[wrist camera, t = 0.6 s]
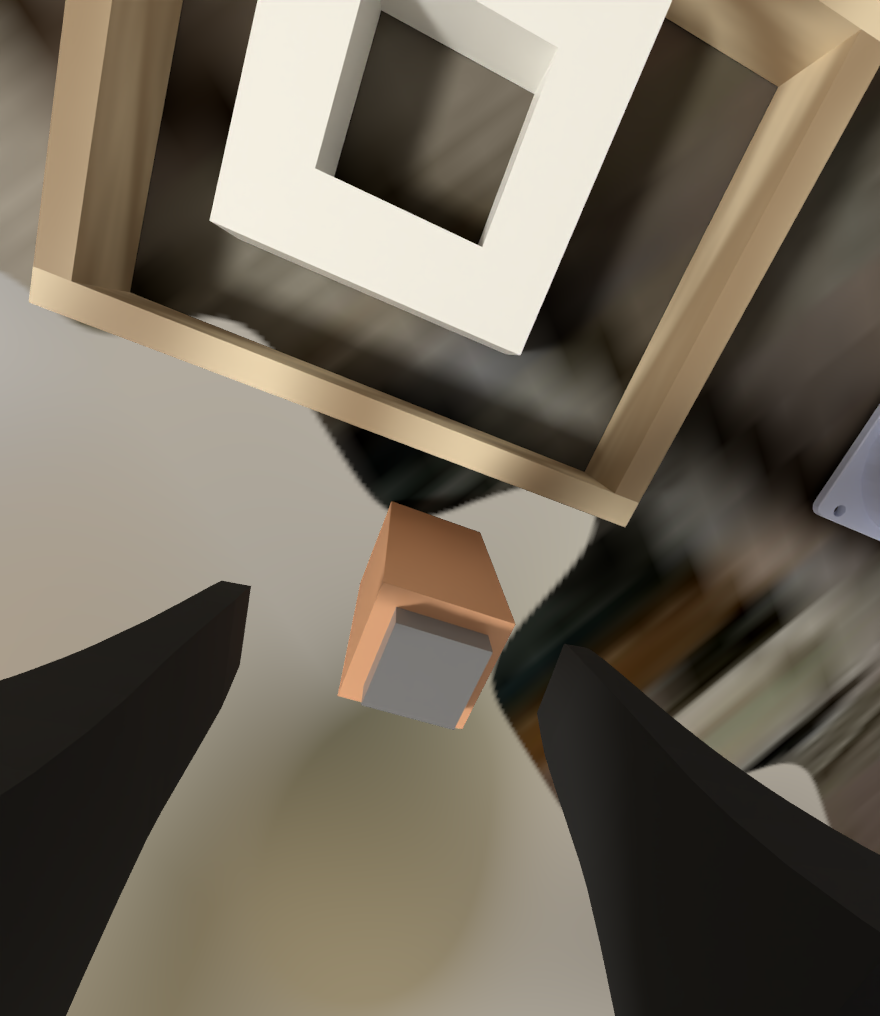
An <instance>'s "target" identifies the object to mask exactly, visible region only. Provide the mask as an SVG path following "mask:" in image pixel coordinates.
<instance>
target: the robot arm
mask: <svg viewBox="0 0 880 1016" xmlns="http://www.w3.org/2000/svg"><path fill="white" fill-rule="evenodd" d="M837 506H838V508H837V510H836V511H835V512H834V510H835V508H836V507H837ZM813 511H814V513H815V514H817V515H819V516H821V517H824V518H826V519H828V520H831V521H833V522H836V523H838V524H840V525H843V526H845V527H848V528H850V529H852V530H855V531H857V532H859V533H862V534H864V535H867V536H869V537H871V538H874V539H876V540H879V541H880V404H879V405H878V407H877V408H876V410H875V411H874V413H873V414H872V416H871V417H870V419H869V420H868V422H867V423H866V425H865V426H864V428H863V429H862V431H861V432H860V434H859V435H858V437H857V438H856V440H855V441H854V443H853V444H852V446H851V447H850V449H849V450H848V452H847V453H846V455H845V456H844V458H843V459H842V461H841V462H840V464H839V465H838V467H837V468H836V470H835V471H834V473H833V474H832V476H831V477H830V479H829V480H828V482H827V483H826V485H825V486H824V488H823V489H822V491H821V492H820V494H819V495H818V497H817V498H816V500H815V501H814V504H813ZM250 589H251V586H247V585H242V584H236V583H231V582H226V581H220V582H218V583H216V584H214V585H212V586H210V587H208V588H207V589H205V590H203V591H201V592H199V593H198V594H196V595H194V596H192V597H190V598H188V599H186V600H185V601H183V602H181V603H179V604H177V605H175V606H173V607H171V608H170V609H168V610H166V611H164V612H162V613H160V614H158V615H156V616H154V617H152V618H150V619H148V620H146V621H144V622H142V623H140V624H138V625H136V626H134V627H132V628H130V629H127V630H125V631H123V632H121V633H119V634H117V635H115V636H112V637H110V638H108V639H106V640H104V641H102V642H100V643H98V644H95V645H93V646H91V647H88V648H86V649H84V650H81V651H79V652H76V653H74V654H71V655H69V656H67V657H64V658H62V659H59V660H56V661H54V662H51V663H48V664H46V665H43V666H40V667H38V668H35V669H33V670H30V671H27V672H24V673H21V674H18V675H16V676H13V677H10V678H7V679H3V680H1V681H0V1016H66V1014H67V1012H68V1010H69V1007H70V1005H71V1003H72V1001H73V998H74V996H75V994H76V992H77V989H78V987H79V985H80V982H81V980H82V978H83V976H84V973H85V971H86V969H87V967H88V964H89V962H90V960H91V958H92V956H93V954H94V952H95V949H96V947H97V945H98V943H99V941H100V938H101V936H102V934H103V932H104V930H105V927H106V925H107V923H108V921H109V919H110V916H111V914H112V912H113V910H114V908H115V905H116V903H117V901H118V899H119V897H120V895H121V892H122V890H123V888H124V886H125V884H126V882H127V880H128V878H129V875H130V873H131V871H132V869H133V867H134V865H135V863H136V861H137V858H138V856H139V854H140V852H141V850H142V848H143V846H144V844H145V841H146V839H147V837H148V836H149V834H150V832H151V830H152V828H153V826H154V824H155V823H156V821H157V819H158V817H159V815H160V813H161V811H162V810H163V808H164V806H165V804H166V803H167V801H168V799H169V798H170V796H171V794H172V792H173V791H174V789H175V787H176V786H177V784H178V782H179V780H180V779H181V777H182V775H183V774H184V772H185V770H186V768H187V767H188V765H189V763H190V761H191V760H192V758H193V756H194V755H195V753H196V751H197V749H198V748H199V746H200V744H201V742H202V741H203V739H204V737H205V735H206V734H207V732H208V730H209V728H210V727H211V725H212V723H213V721H214V720H215V718H216V716H217V714H218V713H219V711H220V709H221V707H222V705H223V703H224V700H225V698H226V696H227V694H228V691H229V689H230V687H231V684H232V682H233V680H234V677H235V675H236V673H237V670H238V668H239V665H240V659H241V652H242V644H243V638H244V631H245V624H246V617H247V610H248V603H249V595H250ZM537 714H538V720H539V726H540V732H541V738H542V743H543V748H544V753H545V757H546V760H547V763H548V767H549V770H550V773H551V776H552V779H553V782H554V786H555V789H556V792H557V795H558V798H559V801H560V804H561V807H562V810H563V813H564V816H565V819H566V822H567V825H568V828H569V831H570V834H571V837H572V840H573V843H574V846H575V849H576V852H577V855H578V858H579V861H580V865H581V868H582V871H583V875H584V879H585V882H586V886H587V889H588V893H589V898H590V902H591V907H592V911H593V915H594V920H595V924H596V928H597V932H598V936H599V941H600V945H601V950H602V955H603V960H604V965H605V969H606V974H607V979H608V984H609V989H610V993H611V998H612V1002H613V1008H614V1013H615V1016H880V855H879V854H877V853H875V852H873V851H871V850H869V849H868V848H866V847H864V846H862V845H860V844H859V843H857V842H855V841H853V840H852V839H850V838H848V837H846V836H845V835H843V834H841V833H839V832H838V831H836V830H834V829H833V828H831V827H829V826H828V825H826V824H824V823H823V822H821V821H819V820H818V819H816V818H814V817H813V816H811V815H809V814H808V813H806V812H805V811H803V810H801V809H800V808H798V807H797V806H795V805H793V804H791V803H790V802H788V801H787V800H785V799H784V798H782V797H781V796H779V795H778V794H776V793H775V792H773V791H771V790H770V789H768V788H767V787H765V786H764V785H762V784H761V783H760V782H758V781H757V780H755V779H754V778H752V777H751V776H749V775H748V774H747V773H745V772H744V771H742V770H741V769H739V768H738V767H737V766H735V765H734V764H732V763H731V762H729V761H728V760H727V759H725V758H724V757H723V756H721V755H720V754H718V753H717V752H716V751H714V750H713V749H712V748H710V747H709V746H708V745H707V744H705V743H704V742H703V741H701V740H700V739H699V738H698V737H696V736H695V735H694V734H693V733H691V732H690V731H689V730H687V729H686V728H685V727H684V726H682V725H681V724H680V723H679V722H677V721H676V720H675V719H674V718H673V717H671V716H670V715H669V714H668V713H666V712H665V711H664V710H663V709H662V708H660V707H659V706H658V705H657V704H656V703H654V702H653V701H652V700H651V699H650V698H649V697H647V696H646V695H645V694H644V693H643V692H642V691H640V690H639V689H638V688H637V687H636V686H635V685H633V684H632V683H631V682H630V681H629V680H627V679H626V678H625V677H624V676H623V675H622V674H620V673H619V672H618V671H617V670H616V669H614V668H613V667H612V666H611V665H610V664H608V663H607V662H606V661H605V660H603V659H602V658H601V657H600V656H598V655H597V654H596V653H594V652H593V651H591V650H590V649H588V648H583V647H577V646H572V645H566V644H564V646H563V649H562V651H561V654H560V656H559V659H558V661H557V664H556V666H555V669H554V672H553V674H552V677H551V679H550V682H549V684H548V687H547V690H546V692H545V695H544V697H543V700H542V702H541V705H540V707H539V710H538V713H537Z"/></svg>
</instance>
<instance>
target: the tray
mask: <svg viewBox="0 0 880 1016" xmlns="http://www.w3.org/2000/svg"><path fill="white" fill-rule="evenodd" d="M182 3H183V0H66V2H65V10H64V19H63V27H62V35H61V43H60V51H59V59H58V68H57V76H56V84H55V92H54V100H53V109H52V117H51V125H50V133H49V141H48V149H47V158H46V166H45V174H44V182H43V190H42V198H41V207H40V215H39V223H38V231H37V239H36V247H35V256H34V264H33V272H32V280H31V288H30V297H29V302H30V303H32V304H35V305H37V306H40V307H43V308H45V309H48V310H51V311H53V312H56V313H59V314H61V315H64V316H66V317H69V318H72V319H74V320H77V321H80V322H82V323H85V324H88V325H90V326H93V327H96V328H98V329H101V330H104V331H106V332H109V333H111V334H114V335H117V336H119V337H122V338H125V339H127V340H130V341H133V342H135V343H138V344H141V345H143V346H146V347H149V348H152V349H154V350H157V351H159V352H162V353H164V354H167V355H170V356H172V357H175V358H178V359H181V360H183V361H186V362H189V363H191V364H194V365H196V366H199V367H202V368H204V369H207V370H210V371H212V372H215V373H217V374H220V375H223V376H225V377H228V378H231V379H234V380H236V381H239V382H241V383H244V384H247V385H249V386H252V387H255V388H257V389H260V390H263V391H265V392H268V393H271V394H273V395H276V396H278V397H281V398H284V399H286V400H289V401H292V402H294V403H297V404H300V405H302V406H305V407H308V408H310V409H313V410H315V411H318V412H321V413H323V414H326V415H329V416H331V417H334V418H337V419H339V420H342V421H345V422H347V423H350V424H353V425H355V426H358V427H360V428H363V429H366V430H368V431H371V432H374V433H376V434H379V435H382V436H384V437H387V438H390V439H392V440H395V441H398V442H400V443H403V444H406V445H408V446H411V447H413V448H416V449H419V450H421V451H424V452H427V453H429V454H432V455H435V456H437V457H440V458H443V459H445V460H448V461H451V462H453V463H456V464H459V465H461V466H464V467H466V468H469V469H472V470H474V471H477V472H480V473H482V474H485V475H488V476H490V477H493V478H496V479H498V480H501V481H504V482H506V483H509V484H511V485H514V486H517V487H519V488H522V489H525V490H527V491H531V492H533V493H536V494H538V495H541V496H543V497H546V498H549V499H551V500H554V501H557V502H559V503H562V504H564V505H567V506H570V507H573V508H575V509H578V510H580V511H583V512H586V513H588V514H591V515H594V516H596V517H599V518H602V519H604V520H607V521H610V522H612V523H615V524H617V525H620V526H623V527H626V525H627V523H628V522H629V520H630V518H631V516H632V514H633V513H634V511H635V509H636V507H637V505H638V504H639V502H640V500H641V498H642V496H643V494H644V493H645V491H646V489H647V487H648V485H649V484H650V482H651V480H652V478H653V476H654V474H655V473H656V471H657V469H658V467H659V465H660V464H661V462H662V460H663V458H664V456H665V454H666V453H667V451H668V449H669V447H670V445H671V444H672V442H673V440H674V438H675V436H676V435H677V433H678V431H679V429H680V427H681V425H682V424H683V422H684V420H685V418H686V416H687V415H688V413H689V411H690V409H691V407H692V405H693V404H694V402H695V400H696V398H697V396H698V395H699V393H700V391H701V389H702V387H703V386H704V384H705V382H706V380H707V378H708V376H709V375H710V373H711V371H712V369H713V367H714V366H715V364H716V362H717V360H718V358H719V356H720V355H721V353H722V351H723V349H724V347H725V346H726V344H727V342H728V340H729V338H730V336H731V335H732V333H733V331H734V329H735V327H736V326H737V324H738V322H739V320H740V318H741V317H742V315H743V313H744V311H745V309H746V307H747V306H748V304H749V302H750V300H751V298H752V297H753V295H754V293H755V291H756V289H757V287H758V286H759V284H760V282H761V280H762V278H763V277H764V275H765V273H766V271H767V269H768V267H769V266H770V264H771V262H772V260H773V258H774V257H775V255H776V253H777V251H778V249H779V248H780V246H781V244H782V242H783V240H784V238H785V237H786V235H787V233H788V231H789V229H790V228H791V226H792V224H793V222H794V220H795V218H796V217H797V215H798V213H799V211H800V209H801V208H802V206H803V204H804V202H805V200H806V198H807V197H808V195H809V193H810V191H811V189H812V188H813V186H814V184H815V182H816V180H817V179H818V177H819V175H820V173H821V171H822V169H823V168H824V166H825V164H826V162H827V160H828V159H829V157H830V155H831V153H832V151H833V149H834V148H835V146H836V144H837V142H838V140H839V139H840V137H841V135H842V133H843V131H844V129H845V128H846V126H847V124H848V122H849V120H850V119H851V117H852V115H853V113H854V111H855V110H856V108H857V106H858V104H859V102H860V100H861V99H862V97H863V95H864V93H865V91H866V90H867V88H868V86H869V84H870V82H871V80H872V79H873V77H874V75H875V73H876V71H877V70H878V68H879V66H880V0H258V1H257V6H256V10H255V15H254V19H253V24H252V29H251V33H250V38H249V42H248V47H247V51H246V56H245V61H244V65H243V70H242V74H241V79H240V83H239V88H238V92H237V97H236V102H235V106H234V111H233V115H232V120H231V124H230V129H229V134H228V138H227V143H226V147H225V152H224V156H223V161H222V165H221V170H220V175H219V179H218V184H217V188H216V193H215V197H214V202H213V207H212V211H211V216H210V220H209V221H211V222H212V223H214V224H216V225H217V226H219V227H220V228H222V229H224V230H225V231H227V232H228V233H230V234H232V235H233V236H235V237H236V238H238V239H240V240H242V241H244V242H247V243H249V244H251V245H254V246H256V247H258V248H261V249H263V250H265V251H268V252H270V253H272V254H274V255H277V256H279V257H281V258H284V259H286V260H288V261H291V262H293V263H295V264H298V265H300V266H302V267H305V268H307V269H309V270H312V271H314V272H316V273H318V274H321V275H323V276H325V277H328V278H330V279H332V280H335V281H337V282H339V283H342V284H344V285H346V286H349V287H351V288H353V289H356V290H358V291H360V292H363V293H365V294H367V295H369V296H372V297H374V298H376V299H379V300H381V301H383V302H386V303H388V304H390V305H393V306H395V307H397V308H400V309H402V310H404V311H407V312H409V313H411V314H413V315H416V316H418V317H420V318H423V319H425V320H427V321H430V322H432V323H434V324H437V325H439V326H441V327H444V328H446V329H448V330H451V331H453V332H455V333H458V334H460V335H462V336H464V337H467V338H469V339H471V340H474V341H476V342H478V343H481V344H483V345H485V346H488V347H490V348H492V349H495V350H497V351H499V352H502V353H504V354H510V355H521V352H522V350H523V348H524V345H525V343H526V341H527V338H528V336H529V334H530V331H531V329H532V327H533V324H534V322H535V320H536V317H537V315H538V313H539V310H540V308H541V306H542V303H543V301H544V299H545V296H546V294H547V292H548V289H549V287H550V285H551V282H552V280H553V278H554V275H555V273H556V271H557V268H558V266H559V264H560V261H561V259H562V257H563V254H564V252H565V250H566V247H567V245H568V243H569V240H570V238H571V236H572V233H573V231H574V229H575V226H576V224H577V222H578V219H579V217H580V215H581V212H582V210H583V208H584V205H585V203H586V201H587V198H588V196H589V194H590V191H591V189H592V187H593V184H594V182H595V180H596V177H597V175H598V173H599V170H600V168H601V166H602V163H603V161H604V159H605V156H606V154H607V152H608V149H609V147H610V145H611V142H612V140H613V138H614V135H615V133H616V130H617V128H618V126H619V123H620V121H621V119H622V116H623V114H624V112H625V109H626V107H627V105H628V102H629V100H630V98H631V95H632V93H633V91H634V88H635V86H636V84H637V81H638V79H639V77H640V74H641V72H642V70H643V67H644V65H645V63H646V60H647V58H648V56H649V53H650V51H651V49H652V46H653V44H654V42H655V39H656V37H657V35H658V32H659V30H660V28H661V25H662V23H663V21H664V18H665V17H666V18H667V19H669V20H670V21H672V22H674V23H675V24H677V25H679V26H680V27H682V28H683V29H685V30H687V31H688V32H690V33H692V34H693V35H695V36H696V37H698V38H700V39H701V40H703V41H705V42H706V43H708V44H709V45H711V46H713V47H714V48H716V49H718V50H719V51H721V52H722V53H724V54H726V55H727V56H729V57H731V58H732V59H734V60H735V61H737V62H739V63H740V64H742V65H744V66H745V67H747V68H748V69H750V70H752V71H753V72H755V73H757V74H758V75H760V76H761V77H763V78H765V79H766V80H768V81H770V82H771V83H773V84H774V85H776V86H778V89H777V91H776V93H775V95H774V97H773V99H772V101H771V103H770V105H769V107H768V109H767V111H766V113H765V115H764V117H763V119H762V121H761V123H760V125H759V126H758V128H757V130H756V132H755V134H754V136H753V138H752V140H751V142H750V144H749V146H748V148H747V150H746V152H745V154H744V156H743V158H742V160H741V162H740V164H739V166H738V168H737V170H736V172H735V174H734V176H733V178H732V180H731V182H730V184H729V186H728V188H727V190H726V192H725V194H724V196H723V198H722V200H721V202H720V204H719V206H718V208H717V210H716V212H715V214H714V216H713V218H712V220H711V222H710V224H709V226H708V228H707V230H706V232H705V234H704V236H703V238H702V240H701V242H700V244H699V246H698V248H697V250H696V252H695V254H694V256H693V258H692V260H691V262H690V264H689V265H688V267H687V269H686V271H685V273H684V275H683V277H682V279H681V281H680V283H679V285H678V287H677V289H676V291H675V293H674V295H673V297H672V299H671V301H670V303H669V305H668V307H667V309H666V311H665V313H664V315H663V317H662V319H661V321H660V323H659V325H658V327H657V329H656V331H655V333H654V335H653V337H652V339H651V341H650V343H649V345H648V347H647V349H646V351H645V353H644V355H643V357H642V359H641V361H640V363H639V365H638V367H637V369H636V371H635V373H634V375H633V377H632V379H631V381H630V383H629V385H628V387H627V389H626V391H625V393H624V395H623V397H622V399H621V401H620V403H619V405H618V406H617V408H616V410H615V412H614V414H613V416H612V418H611V420H610V422H609V424H608V426H607V428H606V430H605V432H604V434H603V436H602V438H601V440H600V442H599V444H598V446H597V448H596V450H595V452H594V454H593V456H592V458H591V460H590V462H589V464H588V466H587V468H586V470H585V472H583V471H581V470H578V469H576V468H573V467H571V466H568V465H566V464H563V463H560V462H558V461H555V460H553V459H550V458H548V457H545V456H543V455H540V454H538V453H535V452H533V451H530V450H528V449H525V448H522V447H520V446H517V445H515V444H512V443H510V442H507V441H505V440H502V439H500V438H497V437H495V436H492V435H490V434H487V433H484V432H482V431H479V430H477V429H474V428H472V427H469V426H467V425H464V424H462V423H459V422H457V421H454V420H452V419H449V418H447V417H444V416H441V415H439V414H436V413H434V412H431V411H429V410H426V409H424V408H421V407H419V406H416V405H414V404H411V403H409V402H406V401H403V400H401V399H398V398H396V397H393V396H391V395H388V394H386V393H383V392H381V391H378V390H376V389H373V388H371V387H368V386H366V385H363V384H360V383H358V382H355V381H353V380H350V379H348V378H345V377H343V376H340V375H338V374H335V373H333V372H330V371H328V370H325V369H322V368H320V367H317V366H315V365H312V364H310V363H307V362H305V361H302V360H300V359H297V358H295V357H292V356H290V355H287V354H284V353H282V352H279V351H277V350H274V349H272V348H269V347H267V346H264V345H262V344H259V343H257V342H254V341H251V340H249V339H246V338H244V337H241V336H239V335H236V334H234V333H231V332H229V331H226V330H224V329H221V328H219V327H216V326H214V325H211V324H209V323H206V322H203V321H201V320H198V319H196V318H193V317H191V316H188V315H186V314H183V313H181V312H178V311H176V310H173V309H171V308H168V307H166V306H163V305H160V304H158V303H155V302H153V301H150V300H148V299H145V298H143V297H140V296H138V295H135V294H133V293H130V289H131V284H132V278H133V273H134V267H135V262H136V256H137V251H138V245H139V240H140V234H141V229H142V223H143V218H144V212H145V207H146V201H147V196H148V190H149V185H150V179H151V174H152V168H153V163H154V157H155V152H156V146H157V141H158V135H159V130H160V124H161V119H162V113H163V108H164V102H165V96H166V91H167V85H168V80H169V74H170V69H171V63H172V58H173V52H174V47H175V41H176V36H177V30H178V25H179V19H180V14H181V8H182ZM381 10H382V11H384V12H385V13H387V14H389V15H391V16H393V17H394V18H396V19H398V20H400V21H402V22H404V23H405V24H407V25H409V26H411V27H413V28H415V29H416V30H418V31H420V32H422V33H424V34H425V35H427V36H429V37H431V38H433V39H435V40H436V41H438V42H440V43H442V44H444V45H446V46H447V47H449V48H451V49H453V50H455V51H457V52H458V53H460V54H462V55H464V56H466V57H467V58H469V59H471V60H473V61H475V62H477V63H478V64H480V65H482V66H484V67H486V68H488V69H489V70H491V71H493V72H495V73H497V74H498V75H500V76H502V77H504V78H506V79H508V80H509V81H511V82H513V83H515V84H517V85H519V86H520V87H522V88H524V89H526V90H528V91H529V92H531V93H533V94H534V97H533V100H532V102H531V105H530V108H529V110H528V113H527V116H526V118H525V121H524V124H523V126H522V129H521V132H520V134H519V137H518V140H517V142H516V145H515V148H514V150H513V153H512V155H511V158H510V161H509V163H508V166H507V169H506V171H505V174H504V177H503V179H502V182H501V185H500V187H499V190H498V193H497V195H496V198H495V201H494V203H493V206H492V209H491V211H490V214H489V217H488V219H487V222H486V225H485V227H484V230H483V233H482V235H481V238H480V240H479V243H478V245H477V244H475V243H472V242H470V241H468V240H466V239H464V238H462V237H460V236H458V235H455V234H453V233H451V232H449V231H447V230H445V229H443V228H441V227H439V226H436V225H434V224H432V223H430V222H428V221H426V220H424V219H422V218H419V217H417V216H415V215H413V214H411V213H409V212H407V211H405V210H403V209H400V208H398V207H396V206H394V205H392V204H390V203H388V202H386V201H383V200H381V199H379V198H377V197H375V196H373V195H371V194H369V193H367V192H364V191H362V190H360V189H358V188H356V187H354V186H352V185H350V184H347V183H345V182H343V181H341V180H339V179H337V178H335V177H334V176H335V172H336V169H337V165H338V161H339V158H340V154H341V151H342V147H343V144H344V140H345V137H346V133H347V130H348V126H349V123H350V119H351V115H352V112H353V108H354V105H355V101H356V98H357V94H358V91H359V87H360V84H361V80H362V77H363V73H364V70H365V66H366V62H367V59H368V55H369V52H370V48H371V45H372V41H373V38H374V34H375V31H376V27H377V24H378V20H379V17H380V13H381Z"/></svg>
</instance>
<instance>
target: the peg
mask: <svg viewBox="0 0 880 1016" xmlns="http://www.w3.org/2000/svg"><path fill="white" fill-rule="evenodd" d="M514 626H515V622H514V619H513V616H512V614H511V611H510V609H509V606H508V603H507V601H506V598H505V596H504V593H503V590H502V588H501V585H500V583H499V580H498V578H497V575H496V572H495V570H494V567H493V565H492V562H491V559H490V557H489V554H488V552H487V549H486V546H485V544H484V541H483V539H482V536H481V533H480V532H477V531H475V530H471V529H468V528H466V527H463V526H460V525H457V524H455V523H452V522H449V521H446V520H443V519H441V518H438V517H435V516H432V515H429V514H426V513H424V512H421V511H418V510H415V509H412V508H409V507H407V506H404V505H401V504H398V503H395V502H391V504H390V507H389V510H388V512H387V515H386V518H385V520H384V523H383V525H382V528H381V530H380V533H379V536H378V538H377V541H376V544H375V546H374V549H373V551H372V554H371V557H370V559H369V562H368V564H367V567H366V570H365V572H364V575H363V577H362V580H361V583H360V587H359V592H358V597H357V602H356V607H355V612H354V617H353V623H352V627H351V632H350V637H349V642H348V647H347V652H346V657H345V662H344V667H343V672H342V677H341V682H340V687H339V692H338V696H340V697H344V698H348V699H352V700H355V701H359V702H361V705H363V706H366V707H370V708H374V709H378V710H381V711H385V712H389V713H393V714H396V715H400V716H404V717H408V718H411V719H415V720H419V721H423V722H426V723H430V724H434V725H438V726H441V727H445V728H449V729H452V730H454V729H455V728H459V729H462V728H463V726H464V724H465V723H466V720H467V718H468V717H469V715H470V713H471V711H472V709H473V707H474V705H475V703H476V701H477V699H478V697H479V695H480V693H481V691H482V689H483V687H484V685H485V683H486V681H487V679H488V677H489V675H490V673H491V671H492V670H493V668H494V666H495V664H496V662H497V660H498V658H499V656H500V654H501V652H502V650H503V648H504V646H505V644H506V642H507V640H508V638H509V636H510V634H511V632H512V630H513V628H514Z"/></svg>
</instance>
